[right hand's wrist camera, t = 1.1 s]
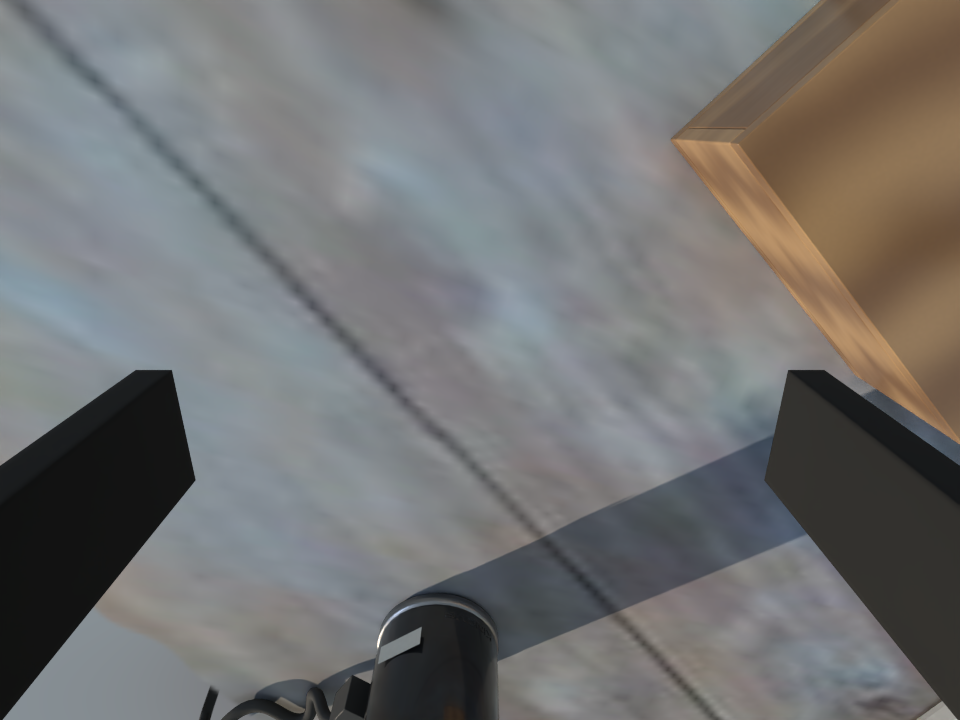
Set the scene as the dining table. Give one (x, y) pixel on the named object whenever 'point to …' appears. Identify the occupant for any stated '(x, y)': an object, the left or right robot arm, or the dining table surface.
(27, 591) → the right robot arm
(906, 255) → the cabinet
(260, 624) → the dining table surface
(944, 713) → the wall clock
